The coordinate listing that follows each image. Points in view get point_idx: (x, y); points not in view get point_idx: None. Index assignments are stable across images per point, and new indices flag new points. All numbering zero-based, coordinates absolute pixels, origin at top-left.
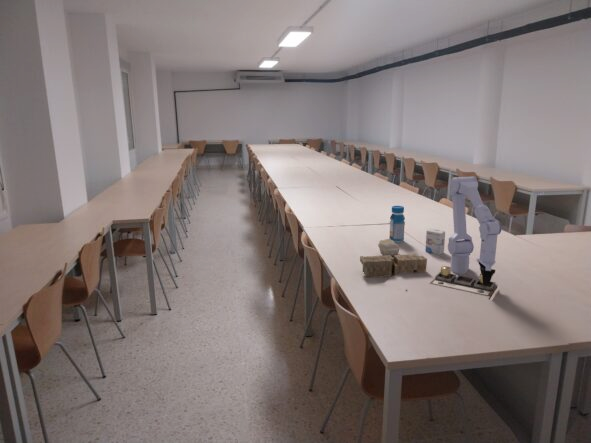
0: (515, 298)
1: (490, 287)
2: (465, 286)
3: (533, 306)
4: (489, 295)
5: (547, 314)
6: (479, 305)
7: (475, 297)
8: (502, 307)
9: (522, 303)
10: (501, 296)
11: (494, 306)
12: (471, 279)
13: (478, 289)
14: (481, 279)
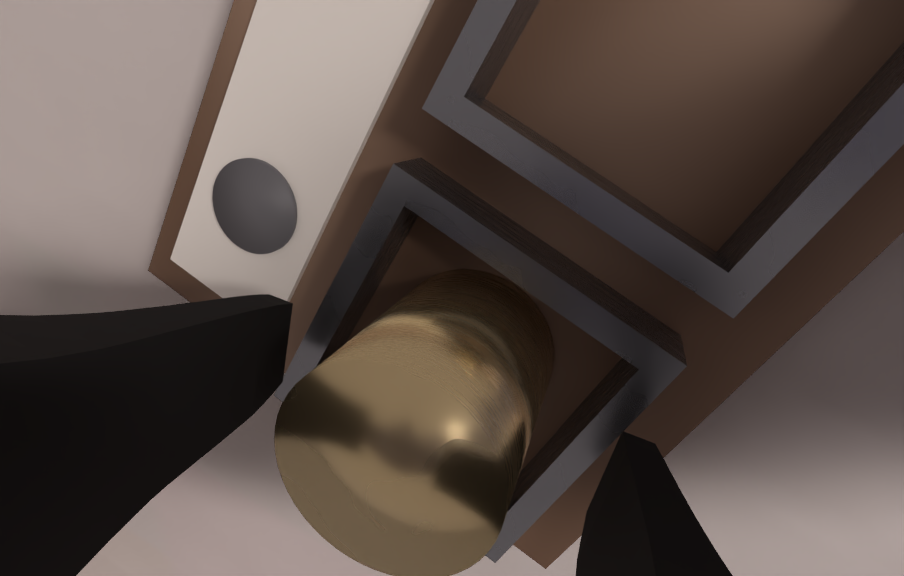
0: (257, 533)
1: (285, 383)
2: (470, 4)
3: (131, 564)
4: (176, 279)
5: None
6: (7, 68)
7: (201, 94)
8: (39, 303)
9: (164, 522)
10: None
11: (35, 234)
12: (752, 231)
13: (329, 203)
14: (359, 336)
